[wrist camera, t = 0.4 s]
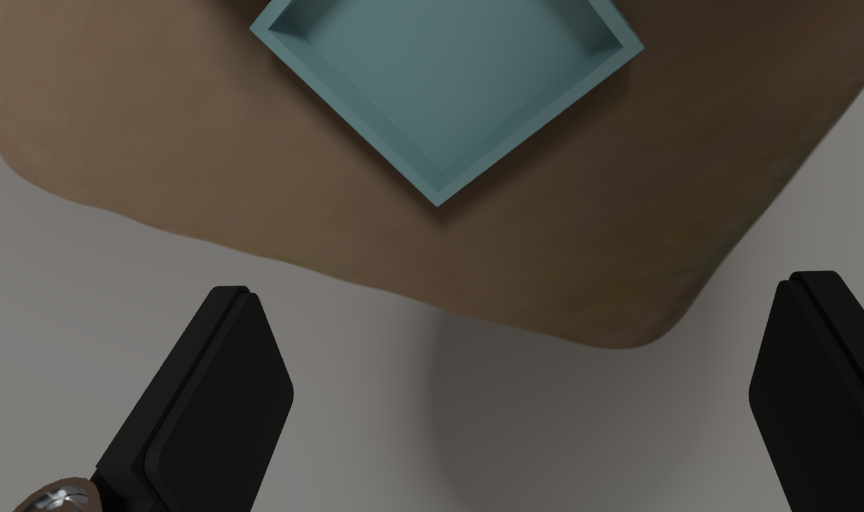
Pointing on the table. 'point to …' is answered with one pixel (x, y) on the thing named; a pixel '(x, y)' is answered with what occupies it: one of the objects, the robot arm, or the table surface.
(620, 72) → the table surface
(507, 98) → the tray
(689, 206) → the table surface
